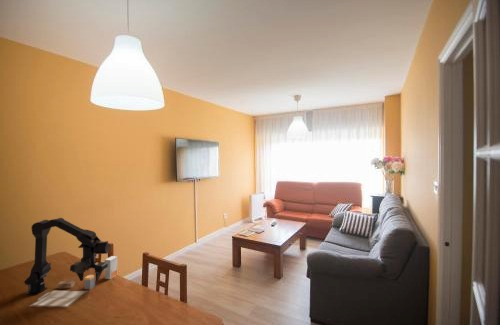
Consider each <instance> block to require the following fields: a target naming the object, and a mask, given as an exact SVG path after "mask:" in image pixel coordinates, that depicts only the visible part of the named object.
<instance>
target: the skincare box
mask: <svg viewBox="0 0 500 325" xmlns="http://www.w3.org/2000/svg"><path fill="white" fill-rule="evenodd" d="M104 262H107V263H108V267H107V268H105V269H104V279H105V280H112V279H113V278H114V277H116V276H117V275H118V256H115V255H111V256H109V257H107V258H106V259H104Z"/></svg>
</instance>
